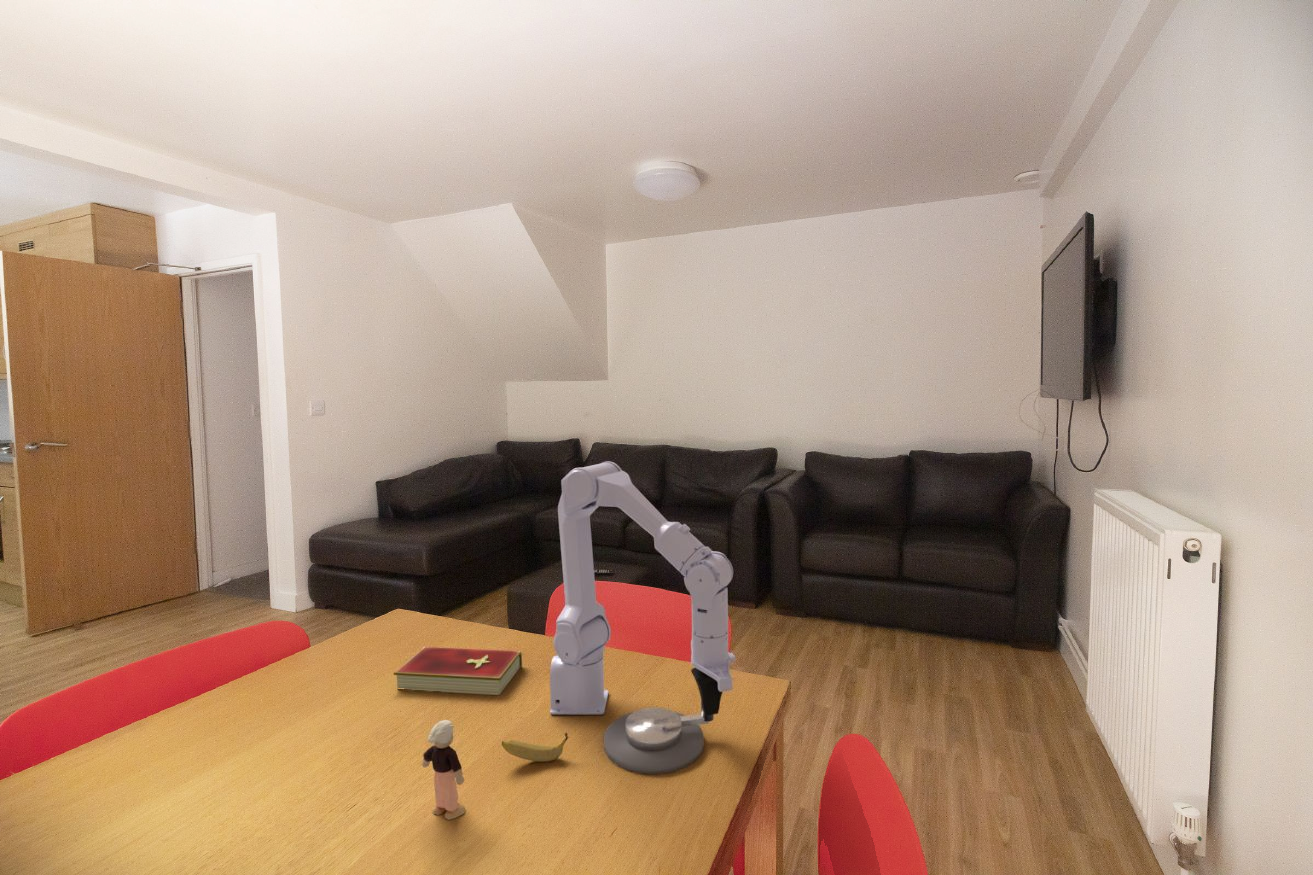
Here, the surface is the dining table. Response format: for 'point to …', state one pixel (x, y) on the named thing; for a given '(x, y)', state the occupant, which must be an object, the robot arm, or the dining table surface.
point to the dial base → (652, 759)
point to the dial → (659, 727)
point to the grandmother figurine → (444, 770)
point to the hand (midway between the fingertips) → (710, 712)
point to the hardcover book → (459, 670)
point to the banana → (534, 750)
